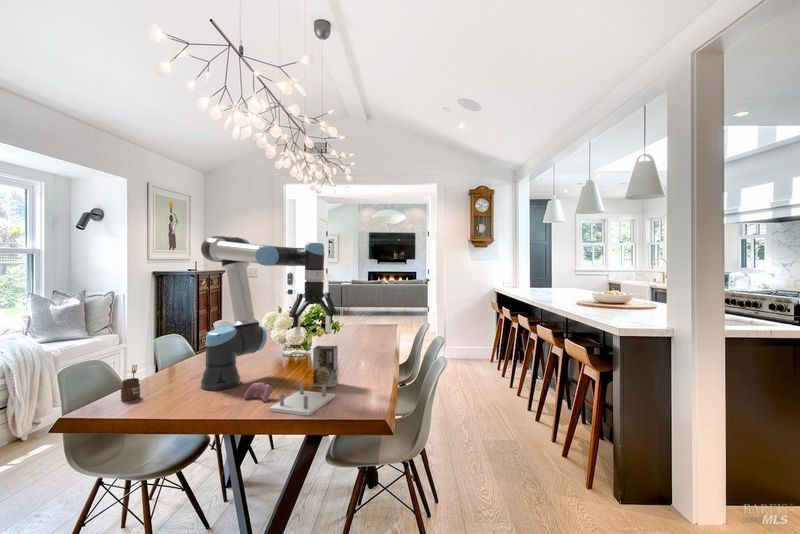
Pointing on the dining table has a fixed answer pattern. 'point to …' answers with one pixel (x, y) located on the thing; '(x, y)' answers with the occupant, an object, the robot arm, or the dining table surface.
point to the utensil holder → (130, 387)
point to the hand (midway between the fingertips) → (313, 333)
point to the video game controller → (255, 390)
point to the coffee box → (325, 366)
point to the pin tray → (302, 401)
